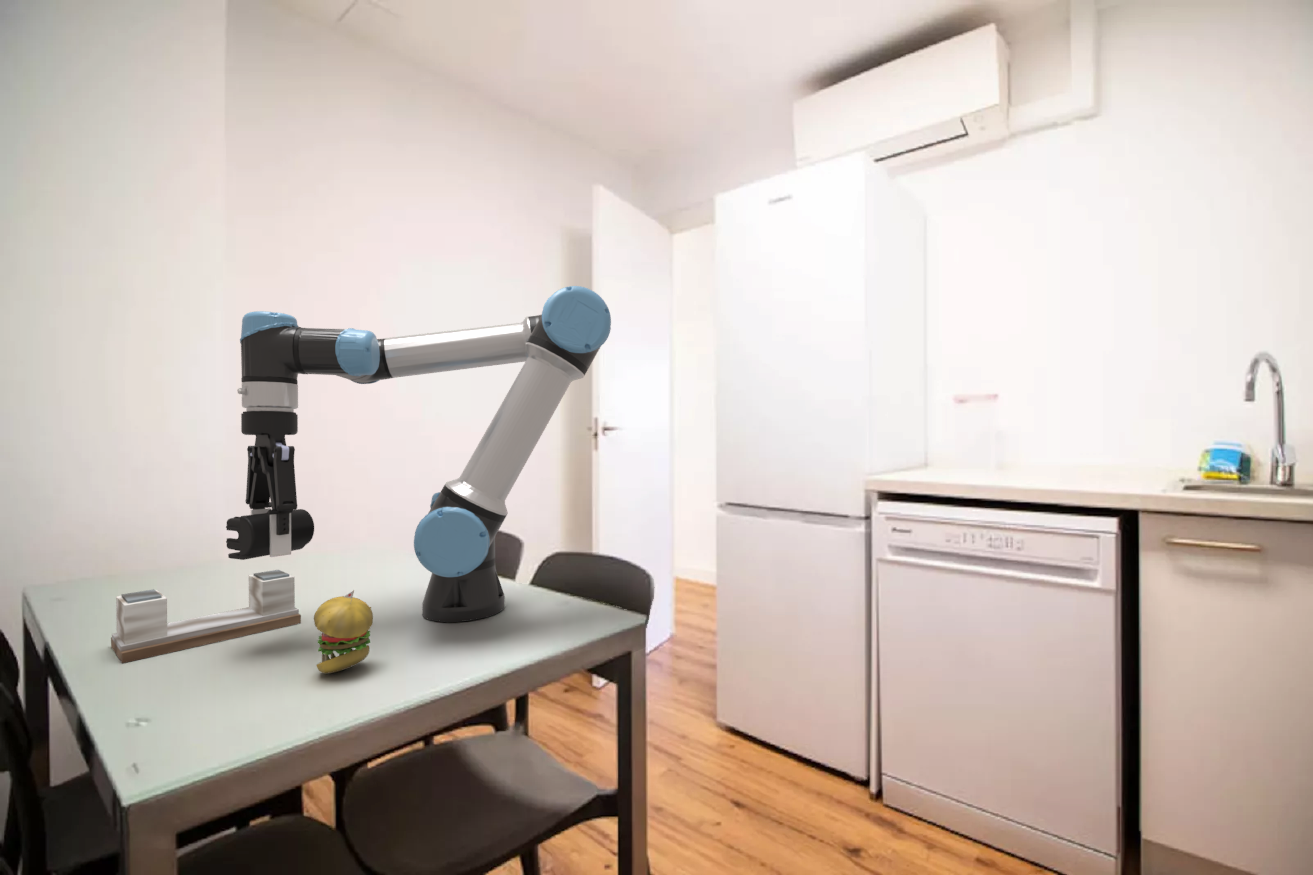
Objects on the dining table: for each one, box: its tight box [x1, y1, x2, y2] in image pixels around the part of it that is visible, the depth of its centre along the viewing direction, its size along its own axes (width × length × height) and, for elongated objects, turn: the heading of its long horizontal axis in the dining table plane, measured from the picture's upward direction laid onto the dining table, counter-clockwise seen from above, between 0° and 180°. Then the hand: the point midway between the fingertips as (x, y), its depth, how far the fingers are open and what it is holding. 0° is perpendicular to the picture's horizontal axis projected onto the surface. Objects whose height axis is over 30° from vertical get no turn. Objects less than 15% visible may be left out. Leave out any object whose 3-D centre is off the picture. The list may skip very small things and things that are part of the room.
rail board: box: [110, 569, 302, 664], centre depth 99 cm, size 11×24×9 cm, turn 140°
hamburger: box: [313, 589, 374, 674], centre depth 83 cm, size 8×7×12 cm
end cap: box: [225, 508, 315, 561], centre depth 92 cm, size 10×7×7 cm
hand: (270, 551), depth 92 cm, fingers closed on end cap, 8 cm apart
